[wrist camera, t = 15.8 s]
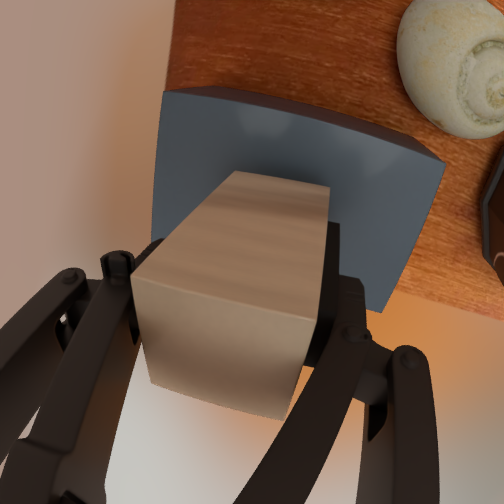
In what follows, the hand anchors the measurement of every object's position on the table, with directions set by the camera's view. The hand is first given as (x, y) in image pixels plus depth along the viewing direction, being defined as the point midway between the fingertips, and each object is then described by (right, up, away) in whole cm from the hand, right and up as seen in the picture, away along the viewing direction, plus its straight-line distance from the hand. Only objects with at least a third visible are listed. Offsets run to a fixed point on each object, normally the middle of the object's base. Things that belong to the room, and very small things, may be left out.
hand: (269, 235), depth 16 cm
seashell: (+15, +15, +4) cm, 22 cm away
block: (0, +1, +1) cm, 2 cm away
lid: (+1, +2, +5) cm, 5 cm away
